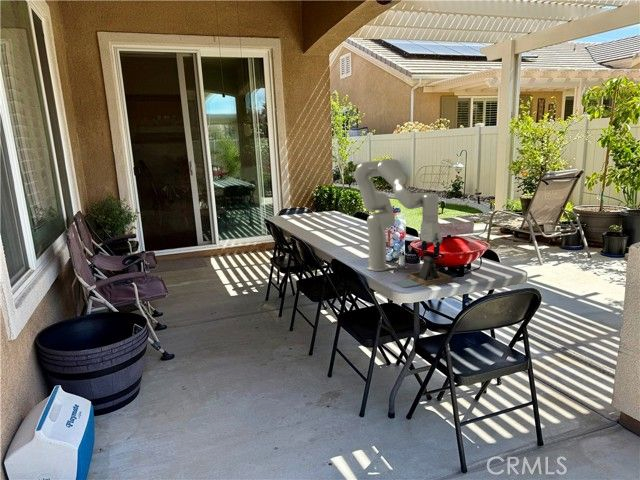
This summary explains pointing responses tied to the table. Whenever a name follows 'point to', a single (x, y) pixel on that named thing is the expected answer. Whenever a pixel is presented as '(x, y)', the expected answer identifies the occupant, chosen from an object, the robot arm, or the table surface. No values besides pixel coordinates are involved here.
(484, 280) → the table surface
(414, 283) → the rubber mat
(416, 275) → the pocket block
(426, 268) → the door stopper
